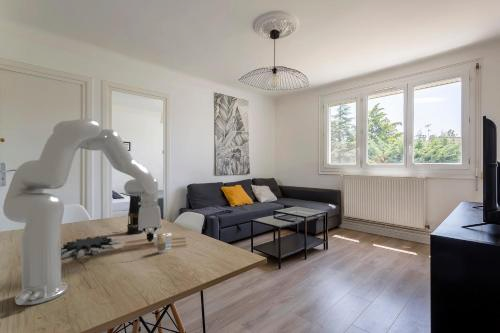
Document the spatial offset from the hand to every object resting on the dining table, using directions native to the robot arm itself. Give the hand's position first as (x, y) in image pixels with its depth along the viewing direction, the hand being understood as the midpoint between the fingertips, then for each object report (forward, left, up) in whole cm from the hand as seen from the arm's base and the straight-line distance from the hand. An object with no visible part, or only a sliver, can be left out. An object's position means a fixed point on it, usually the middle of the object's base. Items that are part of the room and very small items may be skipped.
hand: (150, 240), depth 124 cm
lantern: (+30, +11, -3) cm, 32 cm away
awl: (-14, -6, -3) cm, 16 cm away
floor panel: (0, -2, -3) cm, 4 cm away
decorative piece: (+5, +28, -3) cm, 29 cm away
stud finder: (0, -6, -2) cm, 6 cm away
